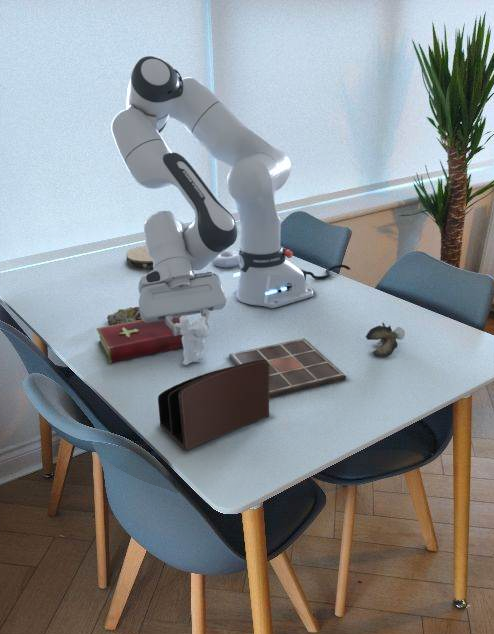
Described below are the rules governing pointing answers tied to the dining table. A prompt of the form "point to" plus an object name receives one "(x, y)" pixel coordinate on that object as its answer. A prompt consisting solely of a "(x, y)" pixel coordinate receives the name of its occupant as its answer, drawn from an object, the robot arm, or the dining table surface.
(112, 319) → the mineral rock
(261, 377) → the letter holder
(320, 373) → the board
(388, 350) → the eagle figurine
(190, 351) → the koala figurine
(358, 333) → the dining table surface
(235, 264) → the donut
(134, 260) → the tambourine
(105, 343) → the hardcover book
